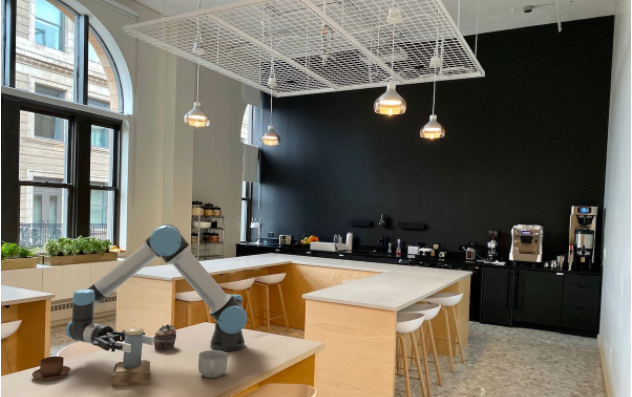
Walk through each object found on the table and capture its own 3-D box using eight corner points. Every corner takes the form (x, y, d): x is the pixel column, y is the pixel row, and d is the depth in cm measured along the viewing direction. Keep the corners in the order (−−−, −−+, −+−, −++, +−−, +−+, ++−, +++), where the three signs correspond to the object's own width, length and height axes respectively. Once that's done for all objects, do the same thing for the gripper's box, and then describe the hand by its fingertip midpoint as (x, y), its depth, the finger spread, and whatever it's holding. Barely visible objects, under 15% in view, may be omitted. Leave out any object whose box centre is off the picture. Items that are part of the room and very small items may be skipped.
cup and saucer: (23, 379, 162) (24, 362, 162) (54, 368, 173) (55, 352, 174) (48, 385, 158) (48, 367, 158) (77, 374, 169) (78, 357, 169)
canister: (141, 361, 170) (144, 327, 170) (140, 367, 164) (143, 332, 164) (123, 362, 168) (125, 327, 168) (121, 368, 162) (124, 332, 162)
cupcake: (164, 343, 208) (165, 321, 208) (180, 347, 203) (181, 324, 203) (147, 349, 199) (148, 326, 199) (164, 353, 195) (165, 329, 195)
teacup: (202, 369, 177) (203, 348, 177) (230, 370, 177) (231, 349, 177) (191, 383, 163) (192, 360, 164) (221, 384, 163) (222, 362, 163)
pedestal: (149, 371, 173) (150, 358, 173) (148, 383, 162) (149, 370, 162) (115, 374, 169) (115, 361, 169) (111, 386, 158) (111, 372, 158)
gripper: (123, 337, 184) (164, 347, 173) (71, 352, 164) (114, 364, 154) (123, 318, 184) (165, 327, 174) (72, 331, 164) (115, 342, 154)
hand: (141, 344), depth 164 cm, fingers open, 9 cm apart
